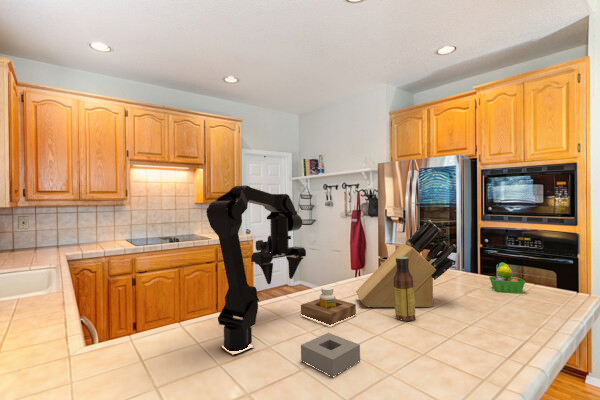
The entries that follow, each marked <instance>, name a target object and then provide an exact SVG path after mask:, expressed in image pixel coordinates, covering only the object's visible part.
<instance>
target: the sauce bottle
mask: <svg viewBox="0 0 600 400" xmlns="http://www.w3.org/2000/svg"><path fill="white" fill-rule="evenodd" d="M408 262H409V258H408V257H396V264H397V271H396V274H395V276H394V299H395V307H394V310H395V311H394V312H395V316H396V318H397V319H398V318H399V319H398V320H400V319H402V320H401V321H404V320H408V321H407V322H410V321H409V320H412V321H414V320H415V319H416V307H415V298H414V286H413V277H412V275H411V274H410V272H409V267H408Z"/></svg>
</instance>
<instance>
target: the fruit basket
mask: <svg viewBox="0 0 600 400" xmlns="http://www.w3.org/2000/svg"><path fill="white" fill-rule="evenodd" d="M496 273H497V275H496V276H489V277H488V278H489V280H490V283H491V286H492V289H493V290H494V291H495V292H496V293H509V294H510V293H511V294H522V293H523V289H524V286H525V284H526V280H524V279H522V278H520V277H515V276H511V275H512V274H513V271H512V269H511V268H510V266H509V265H508V264H507V263H505V262H499V264H498V267H497V269H496Z"/></svg>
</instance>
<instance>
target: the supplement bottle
mask: <svg viewBox="0 0 600 400" xmlns="http://www.w3.org/2000/svg"><path fill="white" fill-rule="evenodd" d="M320 290H321V293H320V295H319V299H320V307H322V308H326V309H332V308H335V307H336V299H337V298H336V295H335V293H334V287H332V286H322V287H321V289H320Z"/></svg>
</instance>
